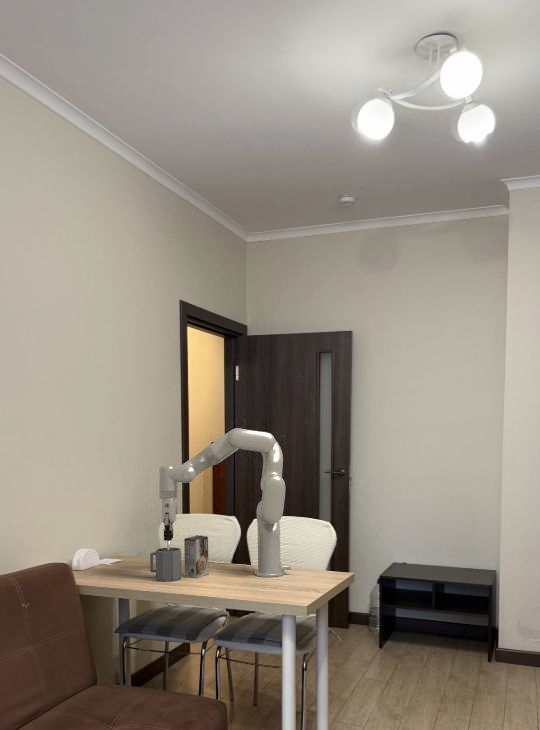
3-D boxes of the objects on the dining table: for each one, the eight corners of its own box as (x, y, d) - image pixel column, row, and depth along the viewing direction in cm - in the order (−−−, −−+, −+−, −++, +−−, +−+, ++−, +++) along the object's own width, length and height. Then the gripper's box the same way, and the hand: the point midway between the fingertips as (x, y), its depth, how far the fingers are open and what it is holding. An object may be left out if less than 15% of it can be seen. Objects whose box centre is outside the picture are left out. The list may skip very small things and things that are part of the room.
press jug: (182, 576, 293) (182, 547, 294) (179, 581, 283) (179, 551, 284) (152, 576, 293) (152, 547, 294) (148, 582, 283) (148, 552, 284)
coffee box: (196, 573, 299) (196, 535, 300) (209, 574, 296) (208, 536, 297) (183, 577, 291) (183, 538, 293) (196, 578, 288) (195, 539, 289)
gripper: (175, 496, 283) (175, 542, 281) (179, 493, 300) (179, 536, 298) (156, 497, 283) (156, 542, 281) (161, 493, 299) (162, 536, 298)
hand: (168, 539), depth 290 cm, fingers closed on plunger, 4 cm apart
